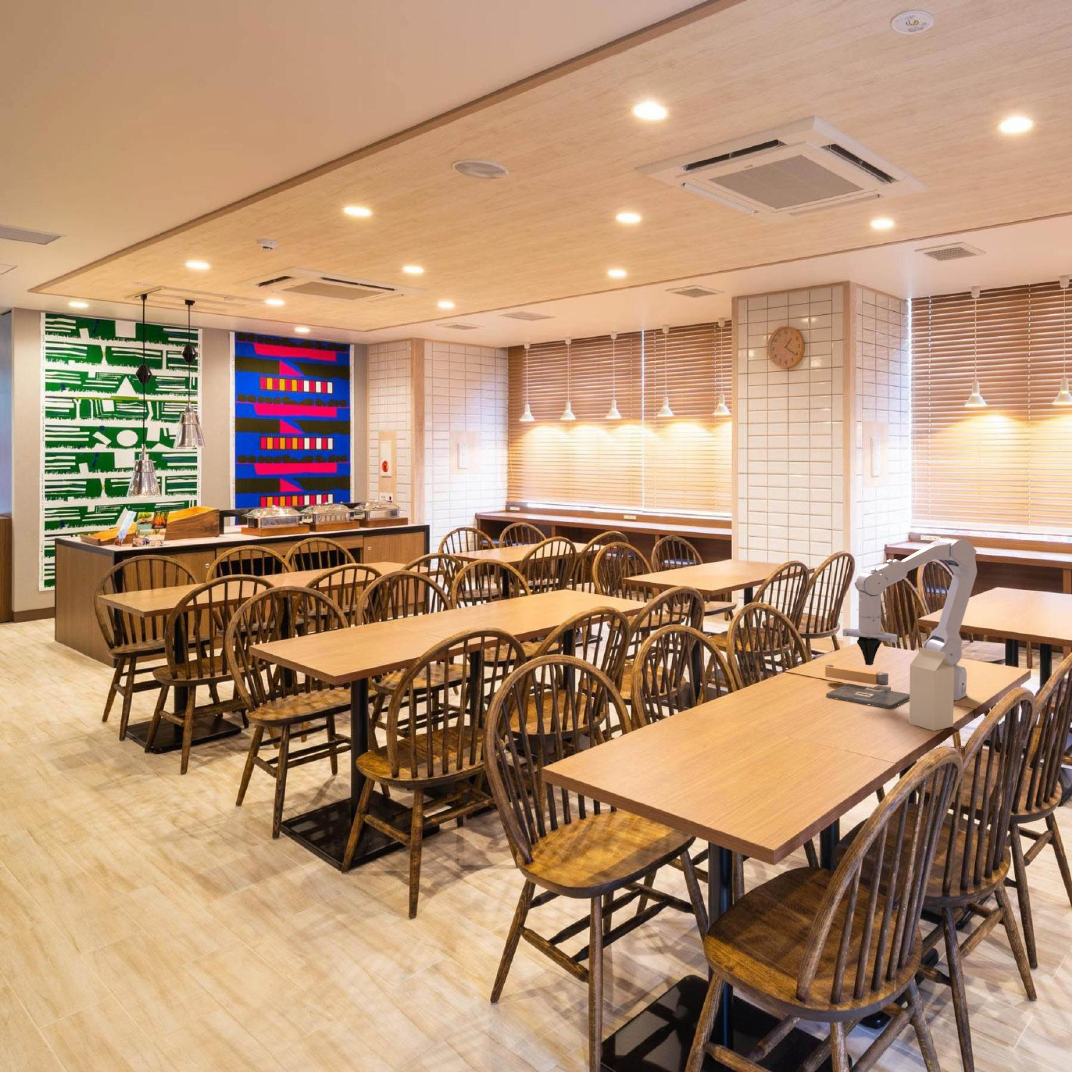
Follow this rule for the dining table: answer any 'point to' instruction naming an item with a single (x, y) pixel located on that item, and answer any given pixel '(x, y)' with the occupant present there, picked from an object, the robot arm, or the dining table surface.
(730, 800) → the dining table surface
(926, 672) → the milk carton
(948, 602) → the robot arm
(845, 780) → the dining table surface
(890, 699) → the server tray
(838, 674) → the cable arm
